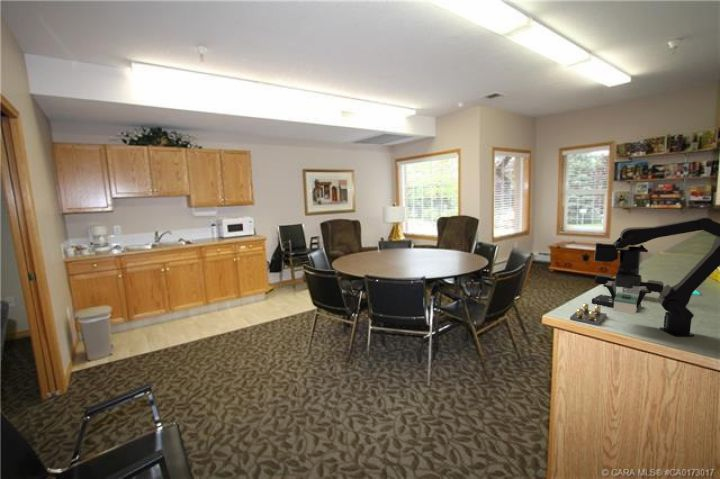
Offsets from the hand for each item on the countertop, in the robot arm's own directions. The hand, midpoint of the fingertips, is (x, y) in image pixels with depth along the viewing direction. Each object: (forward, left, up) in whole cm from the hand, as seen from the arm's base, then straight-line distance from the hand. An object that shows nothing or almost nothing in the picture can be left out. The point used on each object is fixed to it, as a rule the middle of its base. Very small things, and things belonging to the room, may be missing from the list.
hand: (625, 305), depth 121 cm
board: (0, 0, -1) cm, 1 cm away
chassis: (+8, +8, -7) cm, 13 cm away
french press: (+34, -26, -8) cm, 44 cm away
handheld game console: (+41, -52, -8) cm, 67 cm away
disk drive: (+22, -12, -8) cm, 26 cm away
